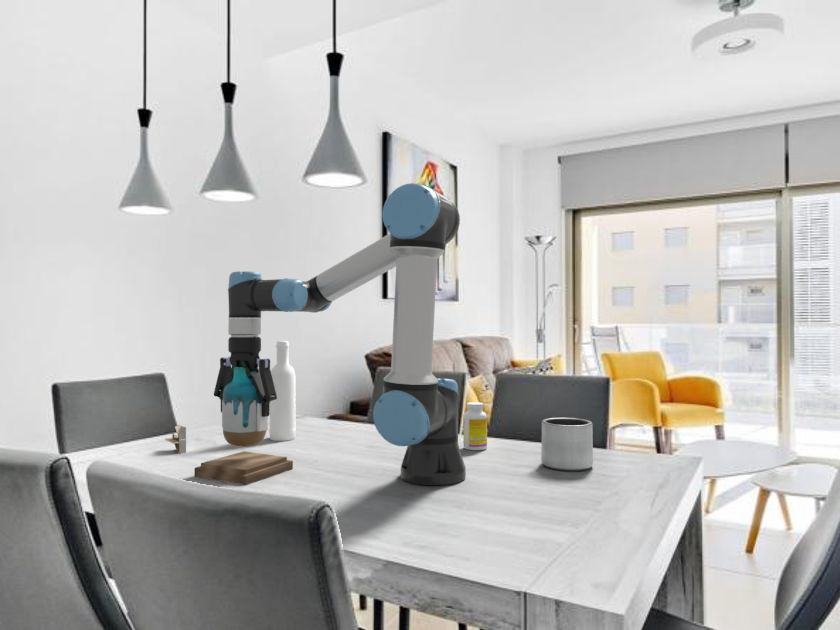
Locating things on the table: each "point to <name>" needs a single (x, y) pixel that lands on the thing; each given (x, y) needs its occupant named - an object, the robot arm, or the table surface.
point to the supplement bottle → (475, 427)
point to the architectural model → (179, 439)
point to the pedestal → (243, 467)
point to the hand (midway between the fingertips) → (244, 428)
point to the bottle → (283, 397)
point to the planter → (567, 444)
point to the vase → (240, 411)
